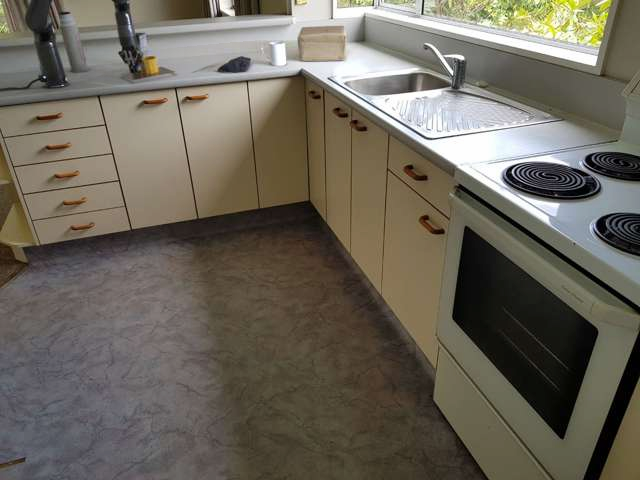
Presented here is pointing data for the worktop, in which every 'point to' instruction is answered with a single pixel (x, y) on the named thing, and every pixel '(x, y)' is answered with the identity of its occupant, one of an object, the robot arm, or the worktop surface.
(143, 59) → the pot
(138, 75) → the board
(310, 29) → the paper package
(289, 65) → the worktop surface
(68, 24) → the thermos bottle
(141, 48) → the coffee box
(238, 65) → the dark slate chunk
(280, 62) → the mug
